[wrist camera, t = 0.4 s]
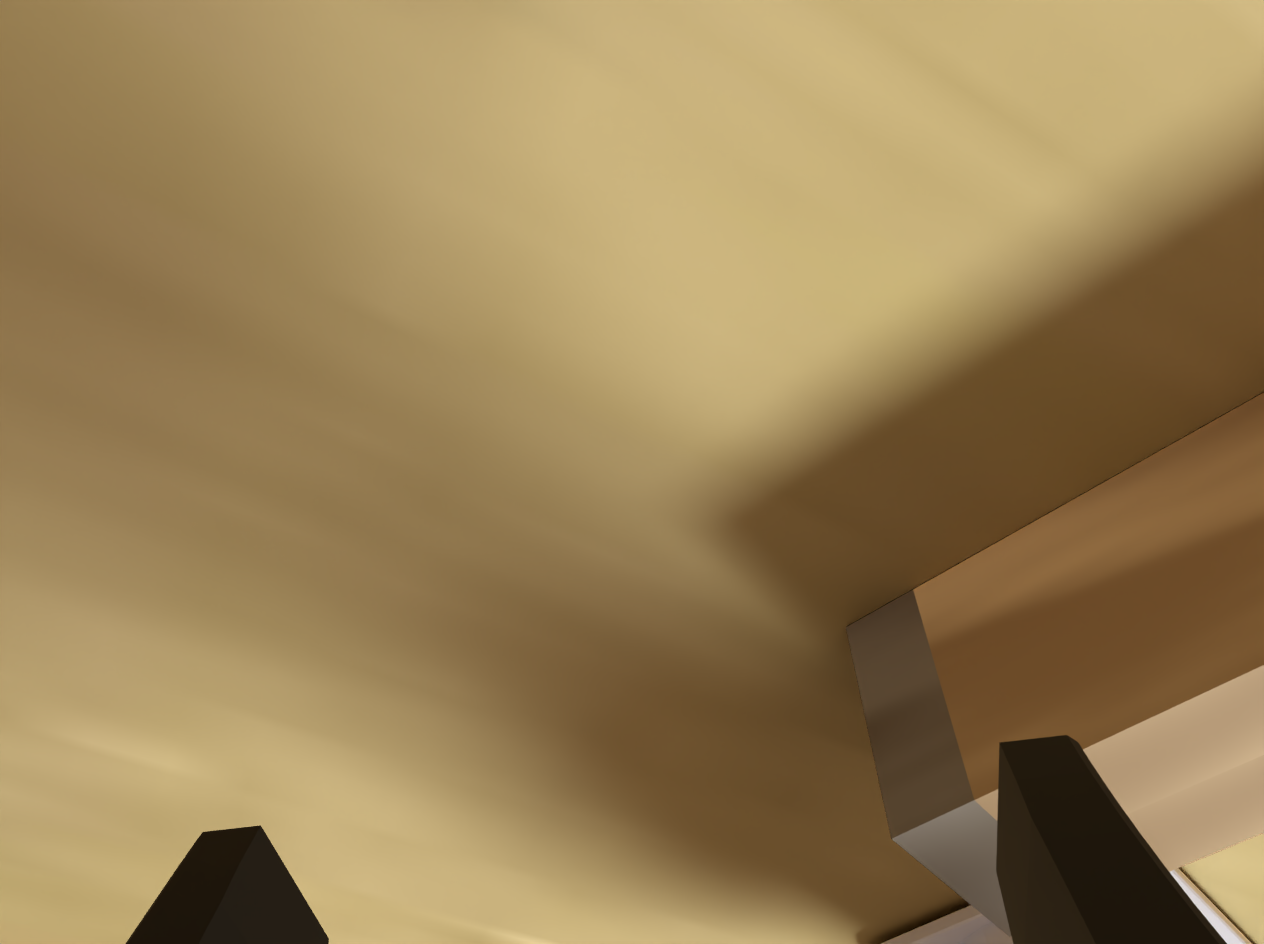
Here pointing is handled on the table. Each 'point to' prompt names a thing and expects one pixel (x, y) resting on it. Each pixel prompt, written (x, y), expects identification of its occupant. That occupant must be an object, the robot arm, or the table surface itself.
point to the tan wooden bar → (1087, 662)
